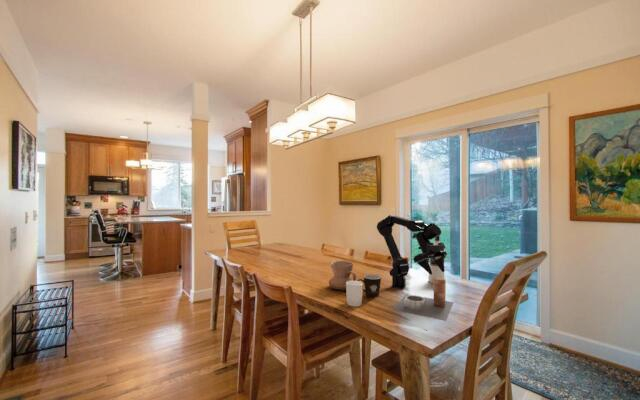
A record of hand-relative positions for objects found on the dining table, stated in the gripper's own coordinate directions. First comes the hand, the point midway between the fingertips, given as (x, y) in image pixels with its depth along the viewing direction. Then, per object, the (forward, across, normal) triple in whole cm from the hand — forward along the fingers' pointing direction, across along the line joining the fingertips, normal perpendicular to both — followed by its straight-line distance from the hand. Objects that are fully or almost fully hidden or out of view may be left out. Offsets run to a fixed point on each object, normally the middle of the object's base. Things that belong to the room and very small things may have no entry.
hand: (437, 273), depth 143 cm
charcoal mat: (+13, -14, +4) cm, 19 cm away
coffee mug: (+1, -25, +25) cm, 35 cm away
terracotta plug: (+14, -7, 0) cm, 16 cm away
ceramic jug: (-8, -29, +40) cm, 50 cm away
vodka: (+2, +26, +24) cm, 36 cm away
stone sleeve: (+12, -19, +4) cm, 22 cm away
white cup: (+3, -38, +21) cm, 44 cm away
